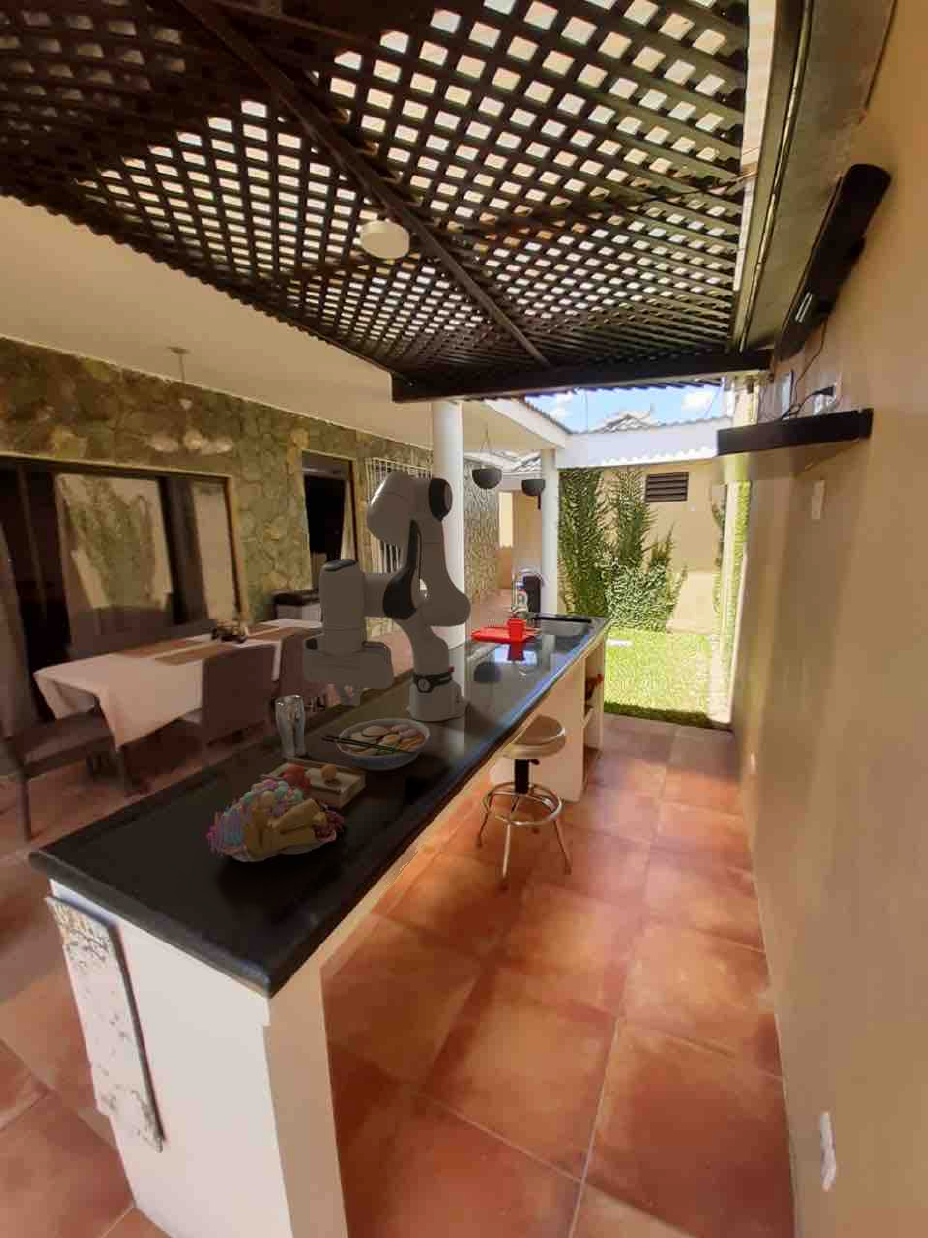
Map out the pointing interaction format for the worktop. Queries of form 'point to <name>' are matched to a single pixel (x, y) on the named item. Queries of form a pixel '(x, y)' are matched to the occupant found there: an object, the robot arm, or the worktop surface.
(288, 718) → the beer glass
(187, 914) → the worktop surface
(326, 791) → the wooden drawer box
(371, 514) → the robot arm
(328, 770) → the ball
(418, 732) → the ramen bowl
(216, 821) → the pastel sphere sculpture
